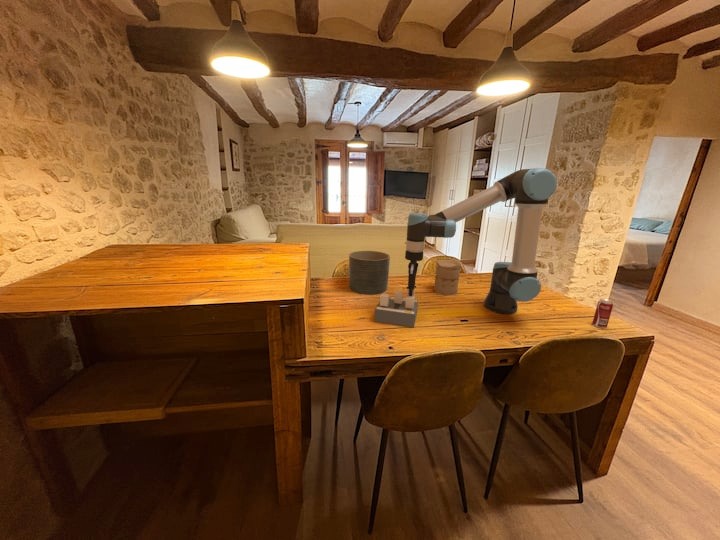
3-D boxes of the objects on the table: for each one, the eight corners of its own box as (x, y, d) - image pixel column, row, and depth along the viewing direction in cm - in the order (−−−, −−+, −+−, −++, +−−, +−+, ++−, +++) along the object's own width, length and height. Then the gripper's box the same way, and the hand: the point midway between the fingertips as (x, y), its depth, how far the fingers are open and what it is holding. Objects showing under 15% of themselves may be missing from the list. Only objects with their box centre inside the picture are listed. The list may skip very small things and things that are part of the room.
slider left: (388, 303, 133) (389, 294, 132) (387, 306, 130) (388, 297, 129) (381, 302, 134) (381, 293, 133) (379, 305, 131) (380, 296, 130)
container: (453, 299, 158) (457, 266, 153) (430, 294, 164) (433, 262, 159) (459, 292, 168) (463, 261, 163) (437, 288, 174) (440, 258, 169)
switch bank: (417, 312, 140) (418, 299, 139) (413, 327, 126) (415, 313, 124) (381, 307, 144) (382, 295, 143) (374, 321, 130) (375, 308, 128)
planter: (390, 286, 175) (393, 252, 170) (383, 299, 155) (385, 262, 149) (354, 281, 181) (355, 249, 175) (343, 294, 160) (343, 257, 155)
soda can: (592, 322, 136) (598, 297, 133) (606, 325, 133) (614, 300, 129) (591, 326, 132) (598, 300, 129) (606, 329, 129) (614, 304, 126)
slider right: (414, 305, 132) (414, 296, 131) (413, 308, 129) (414, 299, 128) (406, 304, 133) (406, 295, 132) (405, 307, 130) (405, 298, 128)
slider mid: (402, 301, 137) (403, 292, 135) (401, 304, 134) (402, 294, 132) (395, 300, 138) (395, 291, 136) (393, 303, 134) (394, 293, 133)
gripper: (407, 246, 133) (403, 295, 140) (403, 252, 121) (399, 306, 128) (424, 248, 131) (419, 297, 138) (422, 254, 119) (417, 308, 126)
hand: (410, 302), depth 133 cm, fingers closed
